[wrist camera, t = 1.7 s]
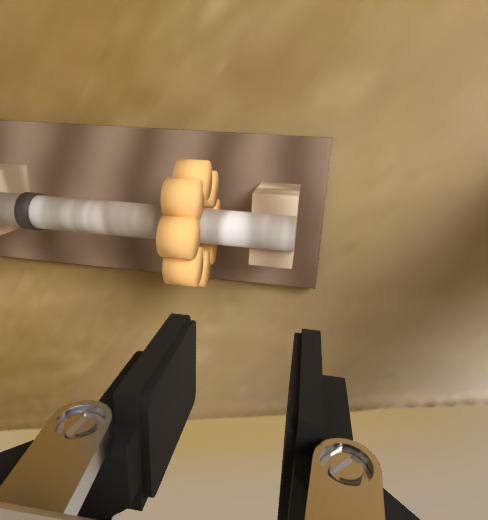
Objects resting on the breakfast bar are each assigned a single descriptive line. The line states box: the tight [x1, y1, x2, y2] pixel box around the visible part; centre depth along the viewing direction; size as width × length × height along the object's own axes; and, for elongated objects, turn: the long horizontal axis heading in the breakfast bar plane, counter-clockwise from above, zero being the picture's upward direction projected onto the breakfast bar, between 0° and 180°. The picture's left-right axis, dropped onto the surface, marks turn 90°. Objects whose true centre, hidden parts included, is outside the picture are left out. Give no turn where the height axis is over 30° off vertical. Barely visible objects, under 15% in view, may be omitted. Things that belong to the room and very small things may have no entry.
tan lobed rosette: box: [156, 159, 221, 287], centre depth 28 cm, size 2×9×9 cm, turn 177°
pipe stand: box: [0, 120, 332, 289], centre depth 31 cm, size 30×12×8 cm, turn 87°
